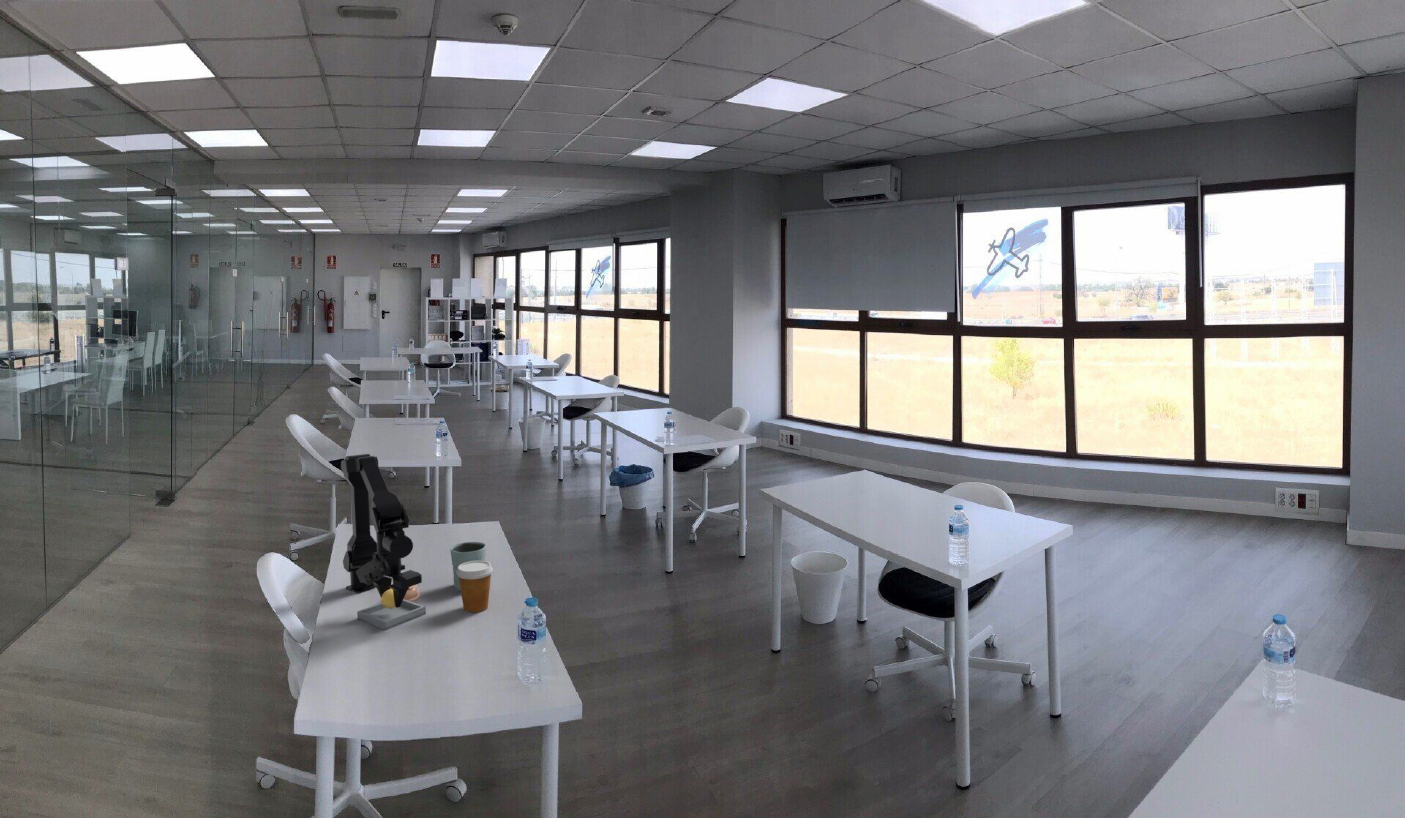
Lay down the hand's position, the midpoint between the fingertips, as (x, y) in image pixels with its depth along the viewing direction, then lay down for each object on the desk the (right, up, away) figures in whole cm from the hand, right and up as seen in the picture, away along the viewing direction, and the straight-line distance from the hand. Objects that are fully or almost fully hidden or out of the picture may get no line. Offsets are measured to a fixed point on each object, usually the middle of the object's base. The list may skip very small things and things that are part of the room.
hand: (391, 604), depth 196 cm
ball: (0, -1, 0) cm, 1 cm away
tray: (0, -3, 0) cm, 3 cm away
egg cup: (-1, -1, +13) cm, 13 cm away
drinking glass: (+14, -1, +23) cm, 26 cm away
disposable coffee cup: (+20, -3, +7) cm, 22 cm away
